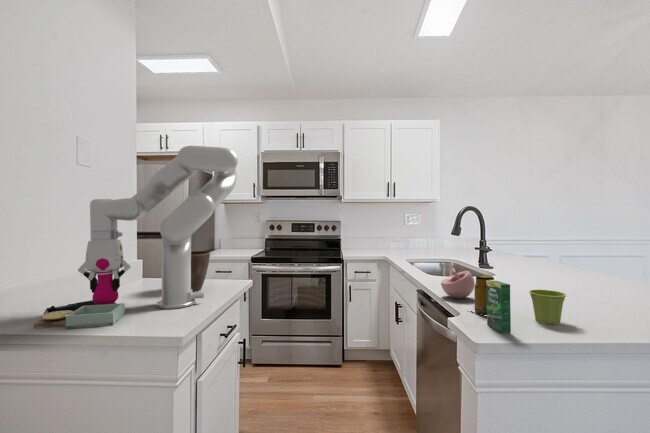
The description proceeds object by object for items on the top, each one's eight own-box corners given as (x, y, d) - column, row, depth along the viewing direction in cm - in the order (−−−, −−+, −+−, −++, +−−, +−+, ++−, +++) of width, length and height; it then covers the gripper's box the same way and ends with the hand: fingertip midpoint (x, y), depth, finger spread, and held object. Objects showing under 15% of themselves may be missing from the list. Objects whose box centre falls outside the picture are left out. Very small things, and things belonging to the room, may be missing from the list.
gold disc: (77, 315, 103) (77, 309, 103) (66, 322, 96) (66, 316, 96) (49, 317, 101) (49, 311, 101) (36, 324, 94) (36, 318, 94)
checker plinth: (79, 317, 103) (79, 313, 103) (67, 325, 96) (67, 321, 96) (48, 319, 101) (48, 315, 101) (34, 328, 93) (34, 323, 93)
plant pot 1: (209, 293, 137) (209, 254, 137) (169, 295, 133) (169, 255, 133) (211, 286, 151) (211, 250, 151) (175, 288, 147) (175, 251, 147)
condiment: (484, 309, 113) (484, 273, 113) (506, 316, 105) (506, 278, 105) (467, 311, 110) (467, 275, 111) (488, 318, 103) (488, 279, 103)
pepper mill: (87, 313, 108) (85, 251, 108) (105, 306, 115) (104, 248, 115) (106, 313, 107) (105, 251, 107) (123, 307, 114) (122, 248, 114)
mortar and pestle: (438, 294, 136) (438, 265, 136) (469, 295, 134) (469, 266, 134) (444, 301, 124) (444, 270, 124) (478, 302, 122) (478, 271, 122)
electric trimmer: (102, 308, 116) (103, 299, 116) (45, 318, 103) (46, 308, 103) (98, 306, 118) (98, 297, 118) (42, 316, 106) (42, 306, 106)
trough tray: (124, 314, 107) (124, 303, 107) (113, 325, 96) (113, 312, 96) (82, 317, 104) (82, 305, 104) (65, 329, 93) (65, 316, 93)
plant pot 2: (523, 320, 100) (523, 291, 100) (536, 315, 106) (536, 287, 106) (559, 329, 93) (559, 297, 93) (571, 322, 98) (571, 293, 98)
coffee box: (485, 324, 97) (485, 279, 97) (495, 324, 97) (495, 278, 97) (500, 334, 89) (500, 284, 89) (511, 333, 89) (511, 284, 89)
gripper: (136, 234, 117) (137, 286, 117) (78, 236, 112) (79, 290, 112) (130, 236, 110) (131, 291, 110) (68, 237, 105) (69, 295, 105)
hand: (105, 290), depth 111 cm, fingers closed on pepper mill, 5 cm apart
